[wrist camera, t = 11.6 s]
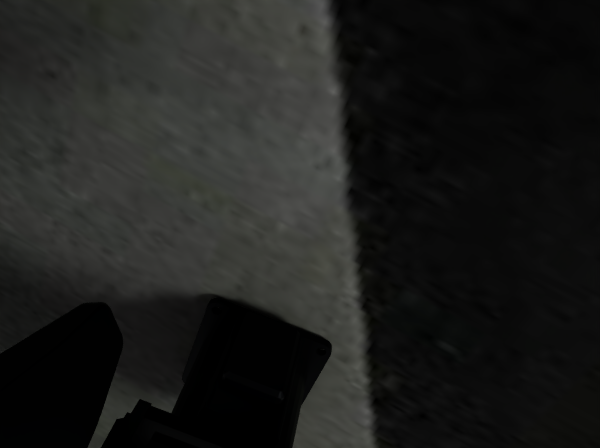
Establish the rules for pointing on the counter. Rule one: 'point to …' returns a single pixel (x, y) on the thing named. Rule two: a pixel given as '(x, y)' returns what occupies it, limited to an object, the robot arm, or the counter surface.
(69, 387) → the robot arm
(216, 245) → the counter surface
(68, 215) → the counter surface
